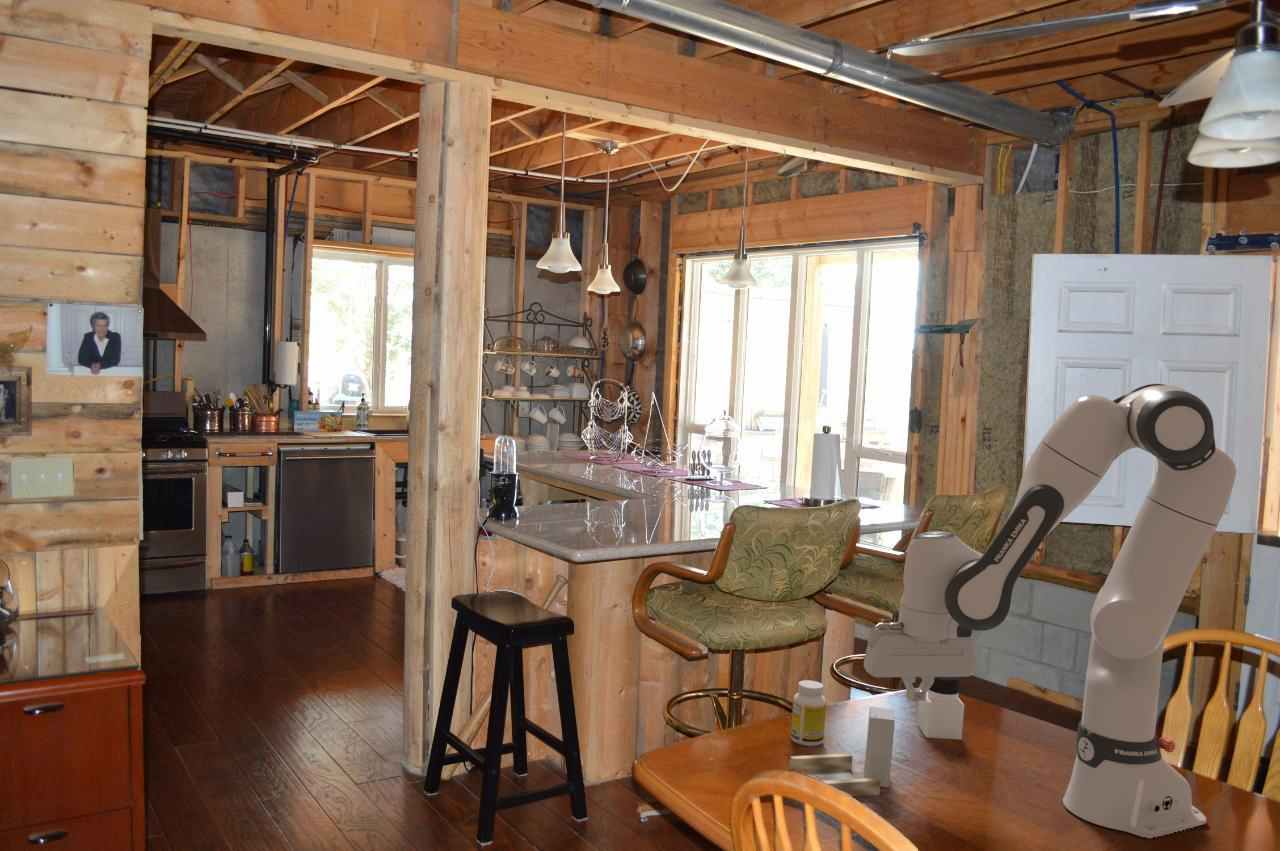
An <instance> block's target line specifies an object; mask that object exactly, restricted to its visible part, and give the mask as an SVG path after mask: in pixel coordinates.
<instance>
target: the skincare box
mask: <svg viewBox="0 0 1280 851" xmlns="http://www.w3.org/2000/svg"><path fill="white" fill-rule="evenodd" d="M868 712H869V713H868V714H869V715H868V722H867V723H868V724H867V734H866V735H867V736H866V745H865V746H866V747H865V757H864V758H865V759H864V767H863V768H864V770H863V776H864V778H878V779H879V780H881V782H880V788H887V789H888V788H890V780H891V779H890V778H891V766H892V758H893V757H892V756H893V755H892V754H893V747H894V735H895V722H896V719H895V718H896V717H895V715H894V714H895V713H894V709H891V708H884V707H877V706H870V707H869V711H868Z"/></svg>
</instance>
